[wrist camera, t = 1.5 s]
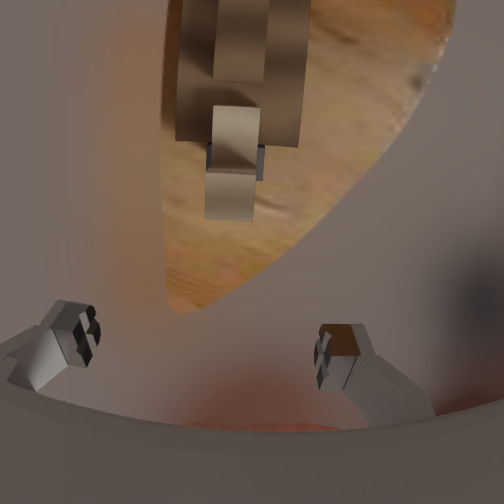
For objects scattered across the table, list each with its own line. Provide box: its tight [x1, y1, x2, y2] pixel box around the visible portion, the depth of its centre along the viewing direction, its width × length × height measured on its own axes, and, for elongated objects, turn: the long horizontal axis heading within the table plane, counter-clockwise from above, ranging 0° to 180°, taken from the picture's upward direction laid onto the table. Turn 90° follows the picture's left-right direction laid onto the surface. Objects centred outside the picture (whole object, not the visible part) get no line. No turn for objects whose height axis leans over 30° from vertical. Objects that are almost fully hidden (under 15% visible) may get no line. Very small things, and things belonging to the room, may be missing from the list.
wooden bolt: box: [205, 105, 261, 222], centre depth 24 cm, size 8×4×5 cm, turn 176°
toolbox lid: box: [175, 0, 311, 148], centre depth 21 cm, size 17×11×6 cm, turn 176°
